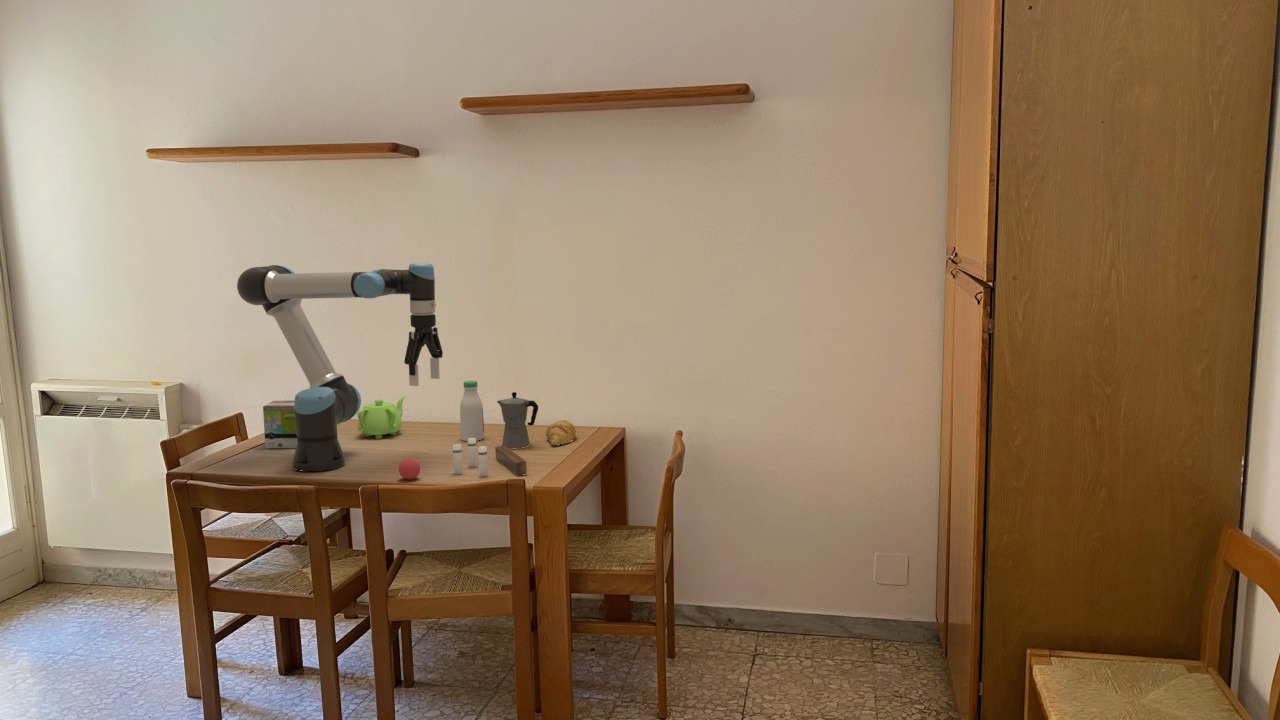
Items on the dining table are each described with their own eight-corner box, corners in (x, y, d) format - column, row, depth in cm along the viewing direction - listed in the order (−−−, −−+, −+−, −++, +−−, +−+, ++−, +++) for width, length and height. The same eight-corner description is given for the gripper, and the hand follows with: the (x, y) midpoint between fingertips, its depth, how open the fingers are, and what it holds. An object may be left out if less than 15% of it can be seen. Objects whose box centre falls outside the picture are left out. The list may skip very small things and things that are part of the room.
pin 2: (480, 477, 269) (479, 448, 268) (477, 475, 271) (476, 446, 270) (489, 476, 270) (487, 447, 269) (486, 473, 272) (485, 445, 271)
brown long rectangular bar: (516, 476, 269) (516, 462, 269) (495, 459, 289) (495, 446, 289) (526, 474, 271) (526, 461, 270) (505, 458, 290) (504, 445, 290)
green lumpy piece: (368, 430, 334) (365, 395, 332) (407, 429, 333) (405, 394, 332) (354, 440, 318) (351, 404, 316) (395, 439, 317) (393, 403, 316)
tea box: (264, 449, 306) (261, 405, 304) (275, 442, 316) (272, 399, 314) (311, 448, 307) (308, 404, 305) (320, 441, 317) (317, 399, 315)
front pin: (454, 474, 272) (453, 446, 270) (452, 472, 274) (451, 444, 273) (463, 473, 273) (462, 445, 272) (461, 471, 275) (460, 443, 274)
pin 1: (469, 467, 280) (468, 440, 278) (467, 465, 282) (466, 438, 281) (478, 466, 281) (477, 439, 279) (476, 464, 283) (474, 437, 282)
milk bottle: (481, 441, 313) (479, 383, 310) (459, 442, 313) (456, 383, 310) (486, 436, 320) (483, 379, 317) (463, 437, 320) (461, 379, 317)
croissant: (562, 458, 303) (573, 437, 302) (535, 444, 304) (546, 423, 302) (575, 442, 324) (585, 422, 322) (550, 428, 325) (560, 408, 323)
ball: (401, 483, 264) (400, 462, 263) (397, 478, 269) (396, 457, 268) (422, 480, 266) (421, 460, 265) (418, 475, 272) (417, 455, 271)
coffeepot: (491, 447, 305) (489, 393, 302) (506, 441, 313) (504, 388, 310) (531, 451, 298) (530, 396, 296) (546, 445, 307) (544, 391, 304)
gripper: (414, 318, 273) (416, 389, 276) (452, 310, 297) (454, 376, 300) (391, 317, 275) (393, 388, 278) (431, 309, 299) (432, 375, 302)
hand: (424, 382), depth 289 cm, fingers open, 13 cm apart
